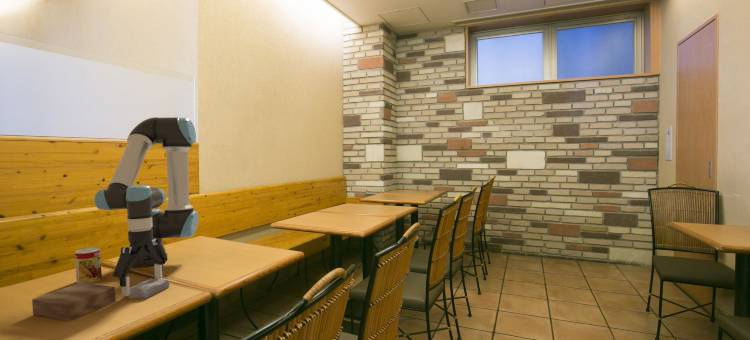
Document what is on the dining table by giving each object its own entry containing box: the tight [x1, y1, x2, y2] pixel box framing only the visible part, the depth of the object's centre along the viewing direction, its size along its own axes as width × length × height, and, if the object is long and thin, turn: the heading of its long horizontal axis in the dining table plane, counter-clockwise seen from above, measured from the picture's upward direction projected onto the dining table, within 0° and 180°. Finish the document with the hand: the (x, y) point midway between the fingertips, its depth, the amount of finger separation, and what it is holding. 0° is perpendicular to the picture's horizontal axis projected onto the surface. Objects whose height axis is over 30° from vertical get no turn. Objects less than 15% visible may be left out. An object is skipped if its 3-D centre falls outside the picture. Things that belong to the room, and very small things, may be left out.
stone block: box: [126, 277, 170, 299], centre depth 136 cm, size 12×5×10 cm
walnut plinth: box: [31, 283, 116, 322], centre depth 123 cm, size 15×15×5 cm
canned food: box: [74, 247, 103, 284], centre depth 148 cm, size 8×8×12 cm
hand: (143, 288), depth 136 cm, fingers open, 13 cm apart
